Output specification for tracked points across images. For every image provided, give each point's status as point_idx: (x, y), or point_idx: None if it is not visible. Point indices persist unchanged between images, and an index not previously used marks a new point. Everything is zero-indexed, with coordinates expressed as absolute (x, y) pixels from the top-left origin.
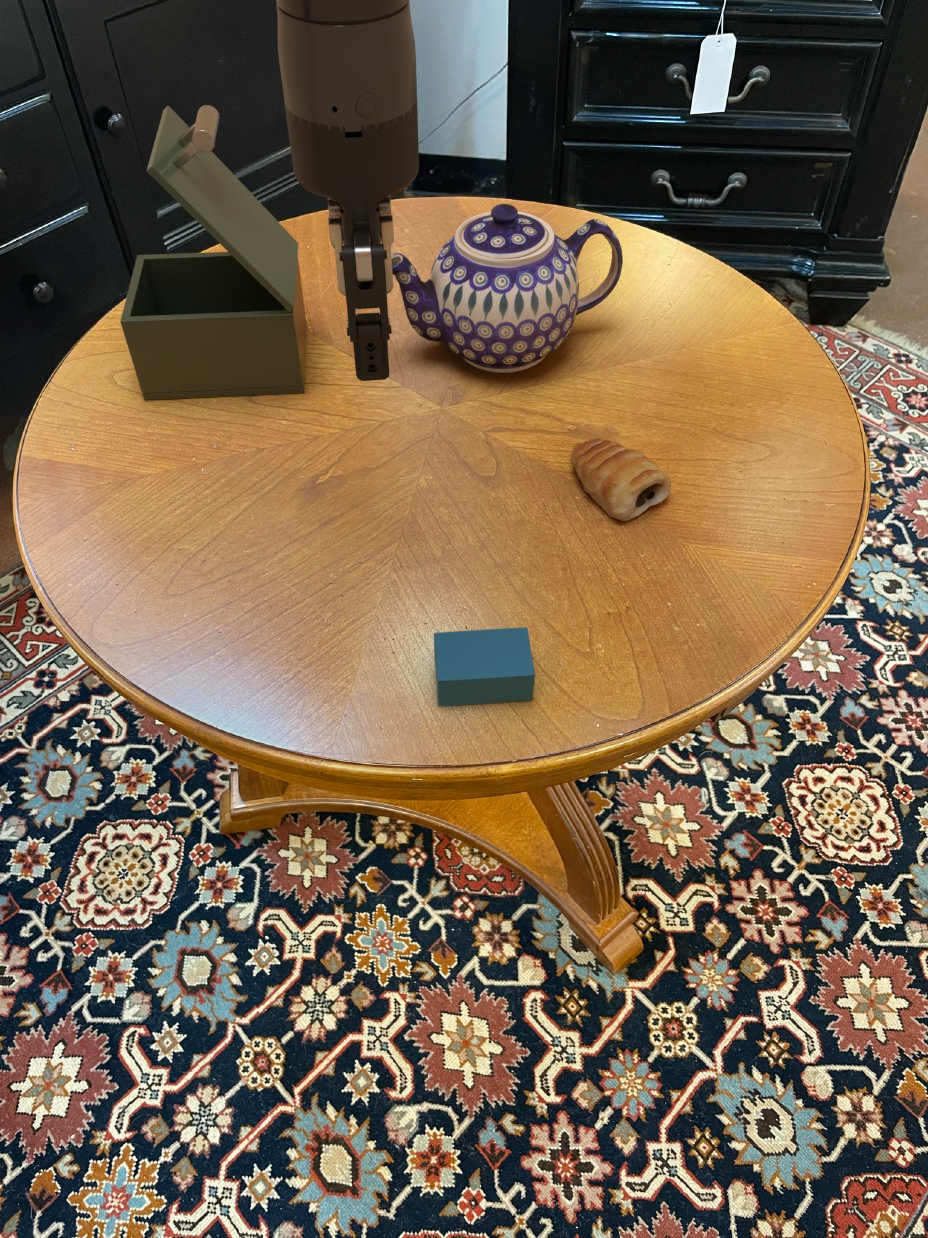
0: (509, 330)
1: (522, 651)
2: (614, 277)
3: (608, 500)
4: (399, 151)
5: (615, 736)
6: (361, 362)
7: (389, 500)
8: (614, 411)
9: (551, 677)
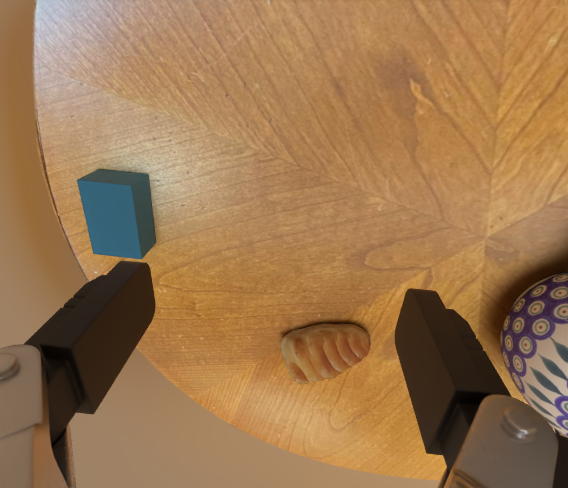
0: (524, 349)
1: (115, 250)
2: None
3: (292, 340)
4: None
5: (88, 279)
6: (67, 303)
7: (356, 162)
8: None
9: None
